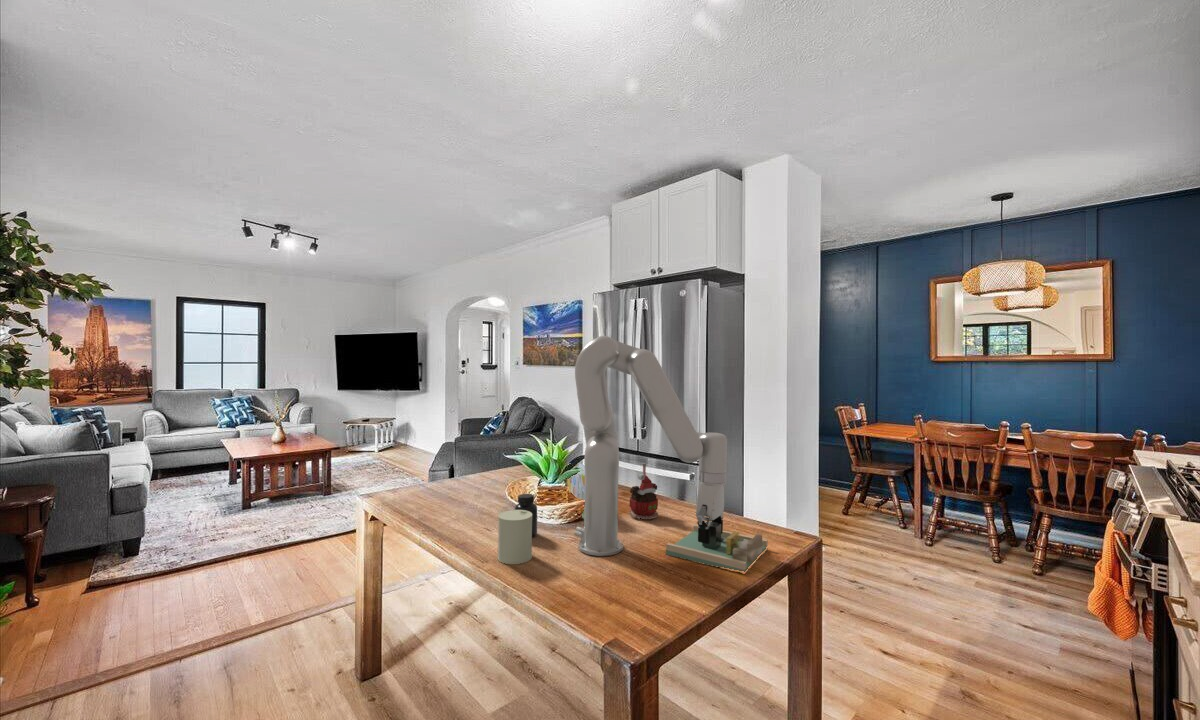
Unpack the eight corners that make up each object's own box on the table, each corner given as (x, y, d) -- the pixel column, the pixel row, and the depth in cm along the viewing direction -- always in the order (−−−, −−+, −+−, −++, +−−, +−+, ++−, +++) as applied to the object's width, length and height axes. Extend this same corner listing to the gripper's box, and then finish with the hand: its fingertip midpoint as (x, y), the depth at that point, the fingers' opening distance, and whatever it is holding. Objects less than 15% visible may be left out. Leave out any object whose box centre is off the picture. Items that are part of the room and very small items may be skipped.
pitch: (665, 554, 138) (666, 544, 138) (695, 533, 155) (695, 524, 155) (744, 574, 126) (744, 563, 126) (767, 549, 142) (767, 540, 142)
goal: (732, 558, 133) (733, 540, 133) (744, 547, 141) (744, 530, 141) (751, 562, 130) (751, 544, 130) (761, 551, 138) (762, 534, 138)
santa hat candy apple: (646, 510, 177) (647, 459, 177) (664, 517, 170) (665, 464, 170) (622, 515, 172) (623, 463, 171) (639, 523, 164) (640, 468, 164)
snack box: (601, 520, 166) (601, 474, 166) (585, 522, 164) (585, 476, 164) (579, 502, 186) (580, 462, 186) (565, 503, 184) (566, 463, 184)
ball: (747, 542, 134) (751, 556, 133) (751, 538, 137) (755, 551, 136) (735, 543, 136) (738, 557, 135) (739, 539, 139) (743, 552, 138)
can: (539, 556, 136) (539, 511, 136) (515, 567, 128) (516, 520, 128) (514, 548, 141) (515, 505, 141) (490, 558, 133) (490, 514, 133)
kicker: (700, 547, 140) (700, 525, 140) (709, 540, 145) (709, 519, 145) (730, 554, 135) (730, 532, 135) (738, 547, 140) (738, 525, 140)
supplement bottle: (539, 531, 154) (539, 493, 154) (534, 539, 148) (534, 499, 147) (517, 530, 155) (518, 492, 155) (511, 538, 148) (512, 498, 148)
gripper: (711, 469, 150) (709, 526, 150) (687, 480, 136) (685, 543, 136) (735, 473, 146) (733, 532, 146) (713, 485, 132) (711, 550, 132)
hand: (710, 537), depth 141 cm, fingers open, 9 cm apart
